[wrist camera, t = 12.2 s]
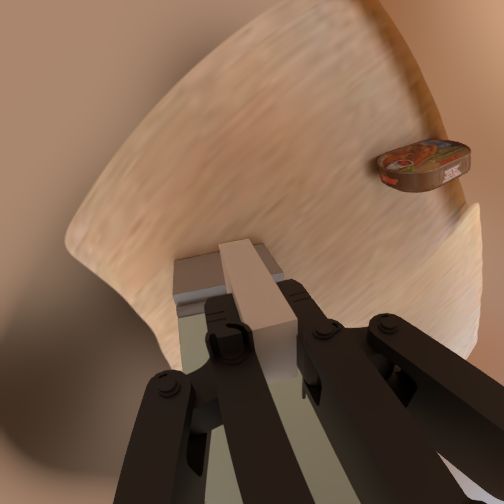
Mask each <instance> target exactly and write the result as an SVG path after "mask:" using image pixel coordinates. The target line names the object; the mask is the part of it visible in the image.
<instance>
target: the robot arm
mask: <svg viewBox="0 0 504 504" xmlns="http://www.w3.org/2000/svg"><path fill="white" fill-rule="evenodd" d="M219 250H220V255H221V261H222V267H223V272H224V278H225V284H226V289H227V293H228V294H224V295H220V296H215V297H210V298H207V300H206V303H205V305H204V312H205V318H206V325H207V331H208V332H207V333H206V335H205V343H206V347H207V350H208V353H209V356H210V357H209V359H208V360H207V362H206V363H205V364H204V365H203V366H202V367H200V368H199V369H197V370H195V371H193V372H191V373H189V374H185V373H183V372H181V371H177V370H166V371H163V372H160V373H158V374H156V375H155V376H154V377H153V378H151V379H150V381H149V383H148V384H147V387H146V390H145V393H144V396H143V399H142V402H141V405H140V409H139V411H138V415H137V418H136V421H135V424H134V428H133V431H132V434H131V438H130V441H129V445H128V448H127V452H126V455H125V459H124V462H123V466H122V470H121V474H120V477H119V481H118V486H117V490H116V494H115V497H114V502H113V504H204V500H205V491H206V480H207V470H208V461H209V451H210V442H211V433H212V430H213V429H215V428H217V427H219V426H221V425H224V430H225V434H226V439H227V443H228V447H229V452H230V456H231V460H232V464H233V468H234V472H235V476H236V480H237V483H238V487H239V491H240V494H241V498H242V502H243V504H315V501H314V499H313V497H312V494H311V492H310V490H309V487H308V485H307V483H306V480H305V478H304V475H303V473H302V471H301V468H300V466H299V463H298V461H297V458H296V456H295V454H294V451H293V449H292V446H291V444H290V441H289V439H288V436H287V434H286V431H285V429H284V426H283V423H282V421H281V418H280V416H279V413H278V411H277V408H276V405H275V403H274V400H273V397H272V395H271V392H270V390H269V387H268V384H272V383H275V382H279V381H283V380H286V379H290V378H293V377H296V376H298V369H299V371H300V373H301V375H302V399H306V395H307V397H308V399H309V401H310V403H311V405H312V407H313V409H314V411H315V413H316V415H317V417H318V419H319V421H320V423H321V425H322V427H323V429H324V431H325V433H326V435H327V438H328V440H329V442H330V444H331V446H332V448H333V450H334V452H335V454H336V456H337V458H338V460H339V462H340V464H341V466H342V468H343V470H344V472H345V474H346V476H347V478H348V480H349V482H350V484H351V486H352V488H353V490H354V492H355V494H356V495H357V497H358V499H359V501H360V503H361V504H487V503H485V502H483V501H477V500H472V499H470V498H468V497H467V496H466V495H465V494H464V492H463V490H462V489H461V487H460V486H459V484H458V483H457V481H456V480H455V478H454V477H453V475H452V474H451V472H450V471H449V469H448V468H447V466H446V465H445V463H444V462H443V461H442V459H441V458H440V456H439V455H438V453H439V454H440V455H441V456H443V457H444V458H445V459H446V460H448V461H449V462H450V463H451V464H452V465H454V466H455V467H456V468H457V469H459V470H460V471H461V472H462V473H464V474H465V475H466V476H467V477H468V478H470V479H471V480H472V481H473V482H475V483H476V484H477V485H479V486H480V487H481V488H482V489H484V490H485V491H486V492H488V493H489V494H491V495H492V496H494V497H495V498H497V499H499V500H502V501H504V386H502V385H501V384H499V383H498V382H497V381H495V380H494V379H492V378H491V377H489V376H488V375H486V374H485V373H484V372H482V371H481V370H479V369H478V368H476V367H475V366H473V365H472V364H470V363H469V362H467V361H466V360H465V359H463V358H462V357H460V356H459V355H457V354H456V353H454V352H453V351H451V350H450V349H448V348H447V347H445V346H444V345H442V344H441V343H439V342H438V341H436V340H434V339H433V338H431V337H430V336H428V335H427V334H425V333H424V332H422V331H421V330H419V329H418V328H416V327H415V326H413V325H411V324H410V323H408V322H407V321H405V320H404V319H402V318H401V317H399V316H396V315H394V314H388V313H384V314H378V315H376V316H374V317H373V318H372V319H371V320H370V322H369V326H368V327H361V328H345V327H344V326H343V325H342V324H341V323H339V322H338V321H335V320H333V319H327V317H326V316H325V315H324V313H323V312H322V311H321V309H320V308H319V307H318V305H317V304H316V303H315V301H314V300H313V299H312V298H311V296H310V295H309V293H308V292H307V291H306V289H305V288H304V287H303V285H302V284H301V283H299V282H297V281H295V280H293V279H289V280H285V281H280V282H276V283H275V281H274V279H273V278H272V276H271V274H270V273H269V271H268V270H267V268H266V266H265V265H264V263H263V261H262V260H261V258H260V256H259V255H258V253H257V252H256V250H255V248H254V247H253V245H252V243H251V242H250V240H249V239H243V240H238V241H233V242H228V243H223V244H219Z"/></svg>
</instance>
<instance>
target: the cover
mask: <svg viewBox="0 0 504 504" xmlns="http://www.w3.org/2000/svg"><path fill="white" fill-rule="evenodd" d="M205 303H206V301H205V302H200V303H195V304H190V305H185V306H179V307H176V310H177V316H178V328H179V340H180V350H181V360H182V369H183V373H185V374H189V373H191V372H193V371H195V370H197V369H199V368H200V367H202V366H203V365H204V364H205V363H206V362H207V360H208V359H209V357H210V356H209V353H208V350H207V347H206V343H205V335H206V333H207V332H208V331H207V325H206V318H205V312H204V305H205ZM268 387H269V390H270V392H271V395H272V397H273V400H274V403H275V405H276V408H277V411H278V413H279V416H280V418H281V421H282V423H283V426H284V429H285V431H286V434H287V436H288V439H289V441H290V444H291V446H292V449H293V451H294V454H295V456H296V458H297V461H298V463H299V466H300V468H301V471H302V473H303V475H304V478H305V480H306V483H307V485H308V487H309V490H310V492H311V494H312V497H313V499H314V501H315V504H361V503H360V501H359V499H358V497H357V495H356V494H355V492H354V490H353V488H352V486H351V484H350V482H349V480H348V478H347V476H346V474H345V472H344V470H343V468H342V466H341V464H340V462H339V460H338V458H337V456H336V454H335V452H334V450H333V448H332V446H331V444H330V442H329V440H328V438H327V435H326V433H325V431H324V429H323V427H322V425H321V423H320V421H319V419H318V417H317V415H316V413H315V411H314V409H313V407H312V405H311V403H310V401H309V399H308V397H307V395H306V399H302V375H301V373H300V371H299V369H298V376H296V377H293V378H290V379H286V380H283V381H279V382H275V383H272V384H268ZM205 500H206V504H243V502H242V498H241V494H240V491H239V487H238V483H237V480H236V476H235V472H234V468H233V464H232V460H231V456H230V452H229V447H228V443H227V439H226V434H225V430H224V425H221V426H219V427H217V428H215V429H213V430H212V433H211V442H210V451H209V461H208V470H207V480H206V491H205Z"/></svg>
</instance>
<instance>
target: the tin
mask: <svg viewBox="0 0 504 504" xmlns="http://www.w3.org/2000/svg"><path fill="white" fill-rule="evenodd" d="M470 154H471V150H470V148H469V147H468V146H466V145H464V144H462V143H459V142H455V141H450V140H439V139H433V140H425V141H421V142H418V143H415V144H412V145H409V146H406V147H403V148H399V149H397V150H394V151H391V152H388V153H385V154H383V155H381V156H380V157H379V158H378V160H377V164H378V166H379V172H380V178H381V181H382V182H383V183H384V184H386V185H387V186H389V187H392V188H394V189H397V190H400V191H403V192H412V193H418V192H426V191H430V190H434V189H436V188H438V187H440V186H442V185H444V184H446V183H448V182H450V181H452V180H454V179H456V178H458V177H460V176H461V175H463V174H465V173H467V172H468V171H469V169H470V166H471V165H470V164H471V162H470V161H471V158H470Z"/></svg>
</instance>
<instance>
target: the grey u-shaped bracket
mask: <svg viewBox="0 0 504 504" xmlns="http://www.w3.org/2000/svg"><path fill="white" fill-rule="evenodd" d="M253 247H254V248H255V250H256V252H257V253H258V255H259V256H260V258H261V260H262V261H263V263H264V265H265V266H266V268H267V270H268V271H269V273H270V274H271V276H272V278H273V279H274V281H275V283H276V282H280V281H284V274H283V271H282V270H281V268H280V267H279V265H278V264H277V262H276V261H275V260H274V258H273V257H272V255H271V254H270V253H269V251H268V250H267V248H266V247H265V245H264V244H263V243H262V244H257V245H253ZM224 294H228V293H227V289H226V284H225V278H224V272H223V267H222V261H221V255H220V252H216V253H211V254H206V255H201V256H196V257H191V258H186V259H181V260H176V261H174V276H173V298H174V301H175V304H176V307H179V306H185V305H190V304H195V303H200V302H205V301H206V300H207V298H210V297H215V296H220V295H224Z"/></svg>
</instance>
